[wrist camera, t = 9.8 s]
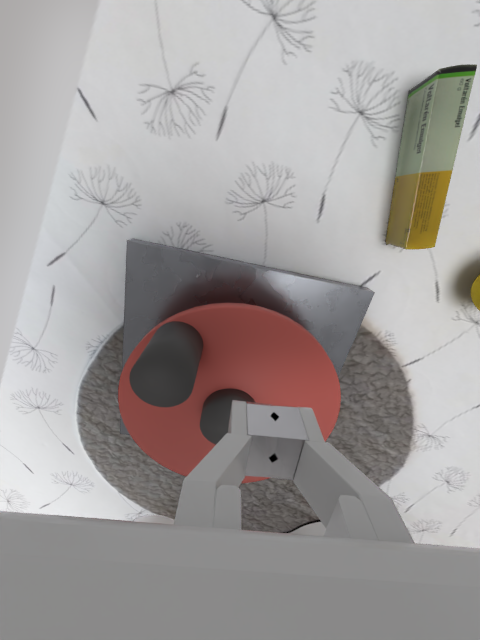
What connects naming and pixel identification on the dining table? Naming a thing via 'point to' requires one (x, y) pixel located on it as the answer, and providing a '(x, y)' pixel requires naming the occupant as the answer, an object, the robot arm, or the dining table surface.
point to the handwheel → (220, 379)
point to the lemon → (476, 292)
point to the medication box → (428, 156)
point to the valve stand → (235, 295)
